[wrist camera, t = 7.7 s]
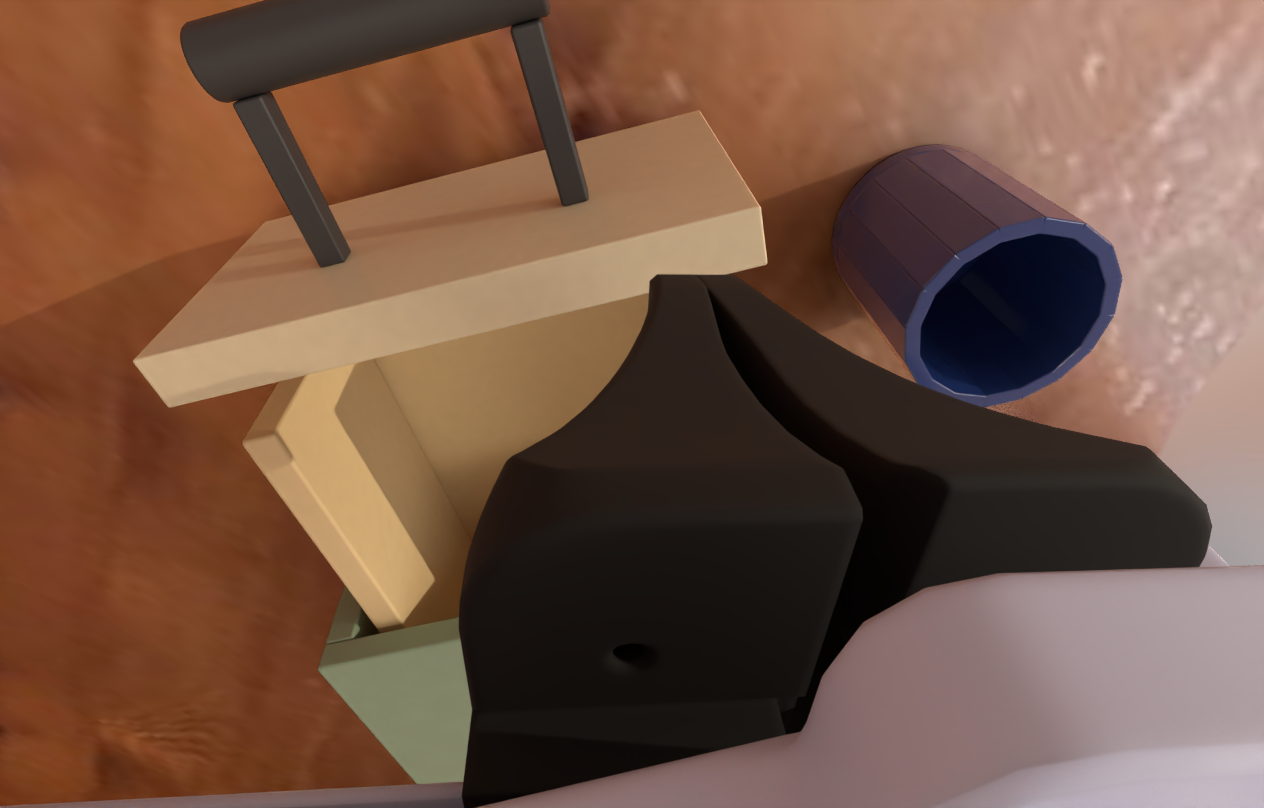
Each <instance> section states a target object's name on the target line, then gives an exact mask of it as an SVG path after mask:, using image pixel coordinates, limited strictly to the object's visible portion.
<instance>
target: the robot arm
mask: <svg viewBox="0 0 1264 808" xmlns="http://www.w3.org/2000/svg"><path fill="white" fill-rule="evenodd" d="M1211 529H1212V524H1211V520H1210V517H1209V513H1208V509H1207V505H1206V504H1205V503H1204V502H1203V501H1202V500H1201V499H1200V498H1199V497H1198V496H1197V495H1196V494H1195V493H1194V492H1193V491H1192V490H1191V489H1190V488H1189V487H1188V486H1187V485H1186V484H1185V483H1184V482H1183V481H1182V480H1181V479H1180V478H1179V477H1178V476H1177V475H1176V474H1175V473H1174V472H1173V471H1172V470H1171V469H1170V468H1169V467H1167V465H1165V463H1163V462H1162V461H1161V460H1160V459H1159V458H1158V457H1157V456H1156V455H1155V454H1154V453H1153V452H1152V451H1151V450H1150V449H1149V448H1147V447H1145V446H1141V445H1136V444H1131V443H1127V442H1122V441H1117V440H1112V439H1108V438H1103V437H1098V436H1093V435H1088V434H1084V433H1079V432H1074V431H1069V430H1065V429H1060V428H1055V427H1051V426H1047V425H1043V424H1039V423H1036V422H1032V421H1028V420H1025V419H1021V418H1018V417H1014V416H1010V415H1007V414H1003V413H1000V412H996V411H993V410H990V409H986V408H983V407H980V406H977V405H974V404H971V403H968V402H965V401H962V400H959V399H956V398H954V397H951V396H948V395H946V394H943V393H940V392H938V391H935V390H932V389H929V388H927V387H924V386H921V385H919V384H917V383H914V382H912V381H910V380H907V379H905V378H902V377H900V376H898V375H896V374H894V373H892V372H890V371H887V370H885V369H883V368H881V367H879V366H877V365H875V364H873V363H871V362H869V361H867V360H864V359H863V358H861V357H859V356H857V355H855V354H853V353H851V352H850V351H848V350H846V349H844V348H843V347H841V346H839V345H838V344H836V343H834V342H833V341H831V340H829V339H828V338H826V337H824V336H822V335H821V334H819V333H818V332H816V331H815V330H813V329H811V328H810V327H808V326H807V325H805V324H804V323H802V322H801V321H799V320H798V319H796V318H795V317H793V316H792V315H791V314H789V313H788V312H786V311H785V310H783V309H782V308H781V307H779V306H778V305H776V304H775V303H774V302H772V301H771V300H769V299H768V298H767V297H765V296H764V295H762V294H761V293H760V292H758V291H757V290H755V289H754V288H753V287H751V286H750V285H748V284H747V283H745V282H744V281H742V280H741V279H739V278H737V277H735V276H734V275H697V274H657V275H656V276H655V277H653V278H652V279H651V280H650V282H649V299H648V312H647V315H646V318H645V321H644V324H643V326H642V329H641V331H640V333H639V335H638V337H637V339H636V341H635V343H634V344H633V346H632V348H631V350H630V352H629V354H628V356H627V357H626V359H625V360H624V362H623V363H622V365H621V366H620V368H619V369H618V371H617V372H616V373H615V375H614V376H613V377H612V379H611V380H610V381H609V383H608V384H607V385H606V386H605V387H604V388H603V389H602V391H601V392H600V393H599V394H598V395H597V396H596V397H595V399H594V400H593V401H592V402H591V403H590V404H589V405H588V406H587V407H586V408H585V409H583V410H582V411H581V412H580V413H579V414H578V415H576V416H575V417H574V418H573V419H571V420H570V421H569V422H568V423H567V424H565V425H564V426H563V427H562V428H560V429H559V430H557V431H556V432H554V433H553V434H551V435H549V436H548V437H546V438H544V439H542V440H541V441H539V442H537V443H535V444H534V445H532V446H530V447H528V448H526V449H525V450H523V451H521V452H519V453H517V454H515V455H513V456H511V457H510V458H509V459H508V460H507V461H506V462H505V464H504V466H503V468H502V470H501V472H500V474H499V476H498V478H497V480H496V482H495V484H494V486H493V489H492V491H491V493H490V495H489V497H488V500H487V502H486V504H485V507H484V509H483V511H482V514H481V516H480V519H479V522H478V524H477V527H476V530H475V533H474V536H473V539H472V543H471V546H470V549H469V552H468V556H467V560H466V564H465V570H464V577H463V583H462V590H461V596H460V605H459V626H458V628H459V635H460V641H461V647H462V653H463V659H464V665H465V671H466V677H467V683H468V689H469V695H470V701H471V707H472V715H471V723H470V731H469V739H468V747H467V756H466V764H465V772H464V780H463V782H446V783H427V784H408V785H389V786H371V787H352V788H333V789H314V790H295V791H276V792H257V793H238V794H219V795H200V796H181V797H162V798H143V799H124V800H105V801H86V802H67V803H48V804H29V805H10V806H0V808H1264V565H1254V566H1229V565H1228V564H1227V563H1226V562H1225V561H1224V560H1223V559H1222V558H1221V557H1220V556H1219V555H1218V554H1217V553H1216V552H1215V551H1214V550H1213V549H1212V548H1211V547H1210V546H1209V545H1208V544H1209V539H1210V533H1211Z"/></svg>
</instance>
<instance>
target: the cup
mask: <svg viewBox="0 0 1264 808" xmlns="http://www.w3.org/2000/svg"><path fill="white" fill-rule="evenodd" d="M832 254H833V260H834V264H835V267H836V269H837V271H838V274H839V276H840V277H841V279H842V280H843V281H844V283H845V284H846V286H847V287H848V289H849V291H850V293H851V294H852V296H853V297H854V298H855V300H856V301H857V303H858V304H859V305H860V307H861V308H862V310H863V311H864V312H865V314H866V315H867V316H868V318H869V319H870V321H871V322H872V323H873V325H874V326H875V328H876V329H877V330H878V332H879V333H880V334H881V336H882V337H883V339H884V340H885V341H886V343H887V344H888V346H889V347H890V348H891V350H892V351H893V352H894V354H895V355H896V357H897V358H898V359H899V361H900V362H901V364H902V365H903V366H904V368H905V369H906V370H907V372H908V373H909V375H910V376H911V377H912V379H913V380H914V381H915V383H917V384H919V385H921V386H924V387H927V388H929V389H932V390H935V391H938V392H940V393H943V394H946V395H948V396H951V397H954V398H956V399H959V400H962V401H965V402H968V403H971V404H974V405H977V406H980V407H989V406H993V405H998V404H1002V403H1007V402H1011V401H1016V400H1020V399H1023V398H1025V397H1027V396H1028V395H1030V394H1032V393H1034V392H1036V391H1038V390H1040V389H1042V388H1044V387H1046V386H1048V385H1050V384H1052V383H1054V382H1055V381H1057V380H1058V379H1060V378H1062V377H1063V376H1064V375H1065V374H1066V373H1067V372H1068V371H1069V370H1071V369H1072V368H1073V367H1074V366H1075V365H1076V364H1077V363H1078V362H1080V361H1081V360H1082V359H1083V358H1084V357H1085V356H1086V355H1087V354H1089V353H1090V352H1091V350H1092V349H1093V348H1094V347H1095V345H1096V343H1097V342H1098V340H1099V339H1100V337H1101V336H1102V334H1103V332H1104V331H1105V329H1106V328H1107V326H1108V325H1109V323H1110V321H1111V320H1112V318H1113V317H1114V314H1115V311H1116V306H1117V302H1118V297H1119V292H1120V288H1121V283H1122V274H1121V271H1120V267H1119V264H1118V261H1117V257H1116V254H1115V251H1114V247H1113V245H1112V244H1111V243H1110V242H1109V241H1108V240H1107V239H1105V238H1104V237H1103V236H1102V235H1100V234H1099V233H1098V232H1097V231H1095V230H1094V229H1093V228H1092V227H1091V226H1089V225H1088V224H1087V223H1085V222H1084V221H1082V220H1080V219H1079V218H1077V217H1075V216H1074V215H1072V214H1071V213H1069V212H1067V211H1066V210H1064V209H1063V208H1061V207H1059V206H1058V205H1056V204H1054V203H1053V202H1051V201H1050V200H1048V199H1046V198H1045V197H1043V196H1042V195H1040V194H1038V193H1037V192H1035V191H1033V190H1032V189H1030V188H1029V187H1027V186H1025V185H1024V184H1022V183H1021V182H1019V181H1017V180H1016V179H1014V178H1012V177H1011V176H1009V175H1008V174H1006V173H1004V172H1003V171H1001V170H999V169H998V168H996V167H995V166H993V165H991V164H990V163H988V162H987V161H985V160H983V159H982V158H980V157H978V156H977V155H974V154H972V153H970V152H968V151H965V150H963V149H961V148H958V147H954V146H949V145H939V144H937V145H924V146H919V147H914V148H911V149H908V150H905V151H902V152H900V153H897V154H895V155H893V156H891V157H889V158H888V159H886V160H884V161H882V162H881V163H879V164H878V165H877V166H875V167H874V168H873V169H871V170H870V171H869V172H868V173H867V174H866V175H865V176H864V177H863V178H861V180H860V181H859V182H858V183H857V184H856V185H855V186H854V188H853V189H852V190H851V192H850V193H849V195H848V196H847V197H846V199H845V201H844V203H843V205H842V206H841V208H840V211H839V213H838V216H837V218H836V222H835V225H834V229H833V236H832Z"/></svg>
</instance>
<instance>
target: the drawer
mask: <svg viewBox="0 0 1264 808" xmlns="http://www.w3.org/2000/svg"><path fill="white" fill-rule="evenodd" d="M549 14H550V5H549V0H264V1H261V2H257V3H253V4H250V5H246V6H243V7H239V8H236V9H232V10H229V11H225V12H221V13H218V14H214V15H211V16H207V17H204V18H200V19H197V20H193V21H190V22H187V23H186V24H185V25H184V26H183V27H182V29H181V32H180V40H181V46H182V50H183V53H184V56H185V58H186V61H187V63H188V65H189V67H190V69H191V71H192V73H193V74H194V76H195V78H196V79H197V81H198V82H199V83H200V85H201V86H202V87H203V88H204V90H205V91H206V92H207V93H208V94H209V95H211V96H212V97H213V98H214V99H216V100H218V101H220V102H225V103H229V102H233V101H236V102H235V103H234V104H233V107H234V109H235V110H236V112H237V114H238V116H239V118H240V120H241V122H242V123H243V125H244V127H245V129H246V131H247V133H248V135H249V136H250V138H251V140H252V142H253V144H254V146H255V148H256V149H257V151H258V153H259V155H260V157H261V159H262V161H263V162H264V164H265V166H266V168H267V170H268V172H269V174H270V175H271V177H272V179H273V181H274V183H275V185H276V187H277V188H278V190H279V192H280V194H281V196H282V198H283V200H284V201H285V203H286V205H287V207H288V209H289V211H290V213H291V214H292V215H290V216H286V217H282V218H278V219H274V220H270V221H267V222H264V223H263V225H262V226H261V227H260V228H259V229H258V230H257V231H256V232H255V233H254V234H253V235H252V236H251V237H250V238H249V239H248V240H247V241H246V242H245V243H244V244H243V245H242V247H241V248H240V249H239V250H238V251H237V252H236V253H235V254H234V255H233V256H232V257H231V258H230V259H229V260H228V261H227V262H226V263H225V264H224V265H223V266H222V267H221V269H220V270H219V271H218V272H217V273H216V274H215V275H214V276H213V277H212V278H211V279H210V280H209V281H208V282H207V283H206V284H205V285H204V286H203V287H202V288H201V289H200V291H199V292H198V293H197V294H196V295H195V296H194V297H193V298H192V299H191V300H190V301H189V302H188V303H187V304H186V305H185V306H184V307H183V308H182V309H181V310H180V312H179V313H178V314H177V315H176V316H175V317H174V318H173V319H172V320H171V321H170V322H169V323H168V324H167V325H166V326H165V327H164V328H163V329H162V330H161V331H160V332H159V334H158V335H157V336H156V337H155V338H154V339H153V340H152V341H151V342H150V343H149V344H148V345H147V346H146V347H145V348H144V349H143V350H142V351H141V352H140V353H139V354H138V356H137V357H136V358H135V359H134V360H133V363H134V364H135V366H136V367H137V368H138V369H139V371H140V372H141V373H142V374H143V376H144V377H145V378H146V380H147V381H148V382H149V383H150V385H151V386H152V387H153V389H154V390H155V391H156V392H157V394H158V395H159V396H160V397H161V399H162V400H163V401H164V403H165V404H166V405H167V406H168V407H170V408H171V407H175V406H179V405H183V404H187V403H192V402H196V401H200V400H204V399H208V398H212V397H217V396H221V395H225V394H229V393H233V392H238V391H242V390H246V389H250V388H254V387H258V386H263V385H267V384H271V383H275V382H278V384H277V385H276V387H275V388H274V390H273V392H272V393H271V395H270V397H269V398H268V400H267V402H266V403H265V405H264V407H263V408H262V410H261V412H260V413H259V415H258V416H257V418H256V420H255V421H254V423H253V425H252V426H251V428H250V430H249V431H248V433H247V435H246V436H245V438H244V440H243V441H242V444H243V446H244V448H245V449H246V451H247V452H248V453H249V455H250V456H251V457H252V459H253V460H254V461H255V463H256V464H257V466H258V467H259V468H260V470H261V471H262V472H263V474H264V475H265V476H266V478H267V479H268V481H269V482H270V483H271V485H272V486H273V487H274V489H275V490H276V491H277V493H278V494H279V496H280V497H281V498H282V500H283V501H284V502H285V504H286V505H287V506H288V508H289V509H290V511H291V512H292V513H293V515H294V516H295V517H296V519H297V520H298V521H299V523H300V524H301V526H302V527H303V528H304V530H305V531H306V532H307V534H308V535H309V537H310V538H311V539H312V541H313V542H314V543H315V545H316V546H317V547H318V549H319V550H320V552H321V553H322V554H323V556H324V557H325V558H326V560H327V561H328V562H329V564H330V565H331V567H332V568H333V569H334V571H335V572H336V573H337V575H338V576H339V577H340V579H341V580H342V582H343V583H344V584H345V586H346V587H347V588H348V590H349V591H350V592H351V594H352V595H353V597H354V598H355V599H356V601H357V602H358V603H359V605H360V606H361V607H362V609H363V610H364V612H365V613H366V614H367V616H368V617H369V618H370V620H371V621H372V622H373V624H374V625H375V627H376V628H377V629H378V631H379V632H380V633H385V632H390V631H394V630H399V629H404V628H409V627H413V626H418V625H423V624H428V623H433V622H437V621H442V620H447V619H452V618H456V617H459V605H460V596H461V590H462V583H463V577H464V570H465V564H466V560H467V556H468V552H469V549H470V546H471V543H472V539H473V536H474V533H475V530H476V527H477V524H478V522H479V519H480V516H481V514H482V511H483V509H484V507H485V504H486V502H487V500H488V497H489V495H490V493H491V491H492V489H493V486H494V484H495V482H496V480H497V478H498V476H499V474H500V472H501V470H502V468H503V466H504V464H505V462H506V461H507V460H508V459H509V458H510V457H511V456H513V455H515V454H517V453H519V452H521V451H523V450H525V449H526V448H528V447H530V446H532V445H534V444H535V443H537V442H539V441H541V440H542V439H544V438H546V437H548V436H549V435H551V434H553V433H554V432H556V431H557V430H559V429H560V428H562V427H563V426H564V425H565V424H567V423H568V422H569V421H570V420H571V419H573V418H574V417H575V416H576V415H578V414H579V413H580V412H581V411H582V410H583V409H585V408H586V407H587V406H588V405H589V404H590V403H591V402H592V401H593V400H594V399H595V397H596V396H597V395H598V394H599V393H600V392H601V391H602V389H603V388H604V387H605V386H606V385H607V384H608V383H609V381H610V380H611V379H612V377H613V376H614V375H615V373H616V372H617V371H618V369H619V368H620V366H621V365H622V363H623V362H624V360H625V359H626V357H627V356H628V354H629V352H630V350H631V348H632V346H633V344H634V343H635V341H636V339H637V337H638V335H639V333H640V331H641V329H642V326H643V324H644V321H645V318H646V315H647V312H648V299H649V282H650V280H651V279H652V278H653V277H655V276H656V275H657V274H697V275H726V274H730V273H734V272H738V271H743V270H747V269H751V268H755V267H759V266H764V265H766V264H767V254H766V246H765V237H764V229H763V221H762V212H761V207H760V205H759V204H758V202H757V201H756V199H755V198H754V196H753V194H752V193H751V191H750V190H749V188H748V186H747V185H746V183H745V182H744V180H743V179H742V177H741V175H740V174H739V172H738V171H737V169H736V167H735V166H734V164H733V163H732V161H731V159H730V158H729V156H728V155H727V153H726V152H725V150H724V148H723V147H722V145H721V144H720V142H719V140H718V139H717V137H716V136H715V134H714V133H713V131H712V129H711V128H710V126H709V125H708V123H707V121H706V120H705V118H704V117H703V115H702V113H701V112H700V111H699V110H698V111H694V112H690V113H686V114H682V115H678V116H674V117H670V118H666V119H663V120H659V121H655V122H651V123H647V124H643V125H639V126H635V127H632V128H628V129H624V130H620V131H616V132H612V133H608V134H604V135H600V136H597V137H593V138H589V139H585V140H581V141H577V142H575V139H574V135H573V132H572V128H571V124H570V121H569V117H568V113H567V109H566V106H565V102H564V98H563V95H562V91H561V87H560V83H559V80H558V76H557V72H556V68H555V65H554V61H553V57H552V54H551V50H550V46H549V42H548V39H547V35H546V31H545V28H544V24H543V20H542V19H541V18H542V17H546V16H548V15H549ZM509 26H512V27H511V35H512V38H513V42H514V45H515V49H516V52H517V55H518V59H519V62H520V65H521V69H522V72H523V76H524V79H525V82H526V86H527V89H528V93H529V96H530V99H531V103H532V106H533V109H534V113H535V116H536V120H537V123H538V126H539V130H540V133H541V137H542V140H543V143H544V147H545V150H542V151H538V152H534V153H531V154H527V155H523V156H519V157H515V158H511V159H507V160H503V161H500V162H496V163H492V164H488V165H484V166H480V167H476V168H472V169H468V170H465V171H461V172H457V173H453V174H449V175H445V176H441V177H437V178H433V179H430V180H426V181H422V182H418V183H414V184H410V185H406V186H402V187H399V188H395V189H391V190H387V191H383V192H379V193H375V194H371V195H367V196H364V197H360V198H356V199H352V200H348V201H344V202H340V203H336V204H333V205H329V206H328V204H327V202H326V200H325V198H324V196H323V194H322V192H321V190H320V188H319V186H318V184H317V182H316V180H315V178H314V176H313V174H312V172H311V170H310V168H309V166H308V164H307V162H306V160H305V158H304V156H303V154H302V152H301V150H300V148H299V146H298V144H297V142H296V140H295V138H294V136H293V134H292V132H291V130H290V128H289V126H288V124H287V122H286V120H285V118H284V116H283V114H282V112H281V110H280V108H279V106H278V104H277V102H276V100H275V98H274V96H273V94H272V92H271V91H273V90H277V89H281V88H285V87H288V86H292V85H296V84H299V83H303V82H307V81H310V80H314V79H318V78H321V77H325V76H329V75H332V74H336V73H340V72H343V71H347V70H351V69H354V68H358V67H362V66H365V65H369V64H373V63H377V62H380V61H384V60H388V59H391V58H395V57H399V56H402V55H406V54H410V53H413V52H417V51H421V50H424V49H428V48H432V47H435V46H439V45H443V44H446V43H450V42H454V41H457V40H461V39H465V38H468V37H472V36H476V35H480V34H483V33H487V32H491V31H494V30H498V29H502V28H505V27H509ZM237 100H238V101H237Z"/></svg>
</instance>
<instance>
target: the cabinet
mask: <svg viewBox="0 0 1264 808" xmlns="http://www.w3.org/2000/svg"><path fill="white" fill-rule="evenodd" d="M458 626H459V617H456V618H452V619H447V620H442V621H437V622H433V623H428V624H423V625H418V626H413V627H409V628H404V629H399V630H394V631H390V632H385V633H380V632H379V631H378V629H377V628H376V627H375V625H374V624H373V622H372V621H371V620H370V618H369V617H368V616H367V614H366V613H365V612H364V610H363V609H362V607H361V606H360V605H359V603H358V602H357V601H356V599H355V598H354V597H353V595H352V594H351V592H350V591H349V590H348V588H347V587H346V586H344V589H343V592H342V595H341V598H340V601H339V604H338V607H337V610H336V613H335V616H334V619H333V622H332V625H331V628H330V631H329V634H328V637H327V640H326V646H325V647H324V650H323V653H322V656H321V659H320V663H319V666H318V671H319V672H320V673H321V675H322V676H323V677H324V678H325V679H326V680H327V682H328V683H329V684H330V685H331V686H332V687H333V688H334V690H335V691H336V692H337V693H338V694H339V695H340V697H341V698H342V699H343V700H344V701H345V702H346V703H347V705H348V706H349V707H350V708H351V709H352V710H353V712H354V713H355V714H356V715H357V716H358V717H359V718H360V720H361V721H362V722H363V723H364V724H365V725H366V727H367V728H368V729H369V730H370V731H371V732H372V733H373V735H374V736H375V737H376V738H377V739H378V740H379V742H380V743H381V744H382V745H383V746H384V747H385V748H386V750H387V751H388V752H389V753H390V754H391V755H392V756H393V758H394V759H395V760H396V761H397V762H398V763H399V765H400V766H401V767H402V768H403V769H404V770H405V771H406V773H407V774H408V775H409V776H410V777H411V778H412V780H413V781H414V782H415V783H416V784H427V783H446V782H463V780H464V772H465V764H466V756H467V747H468V739H469V731H470V723H471V715H472V707H471V701H470V695H469V689H468V683H467V677H466V671H465V665H464V659H463V653H462V647H461V641H460V635H459V628H458Z"/></svg>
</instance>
